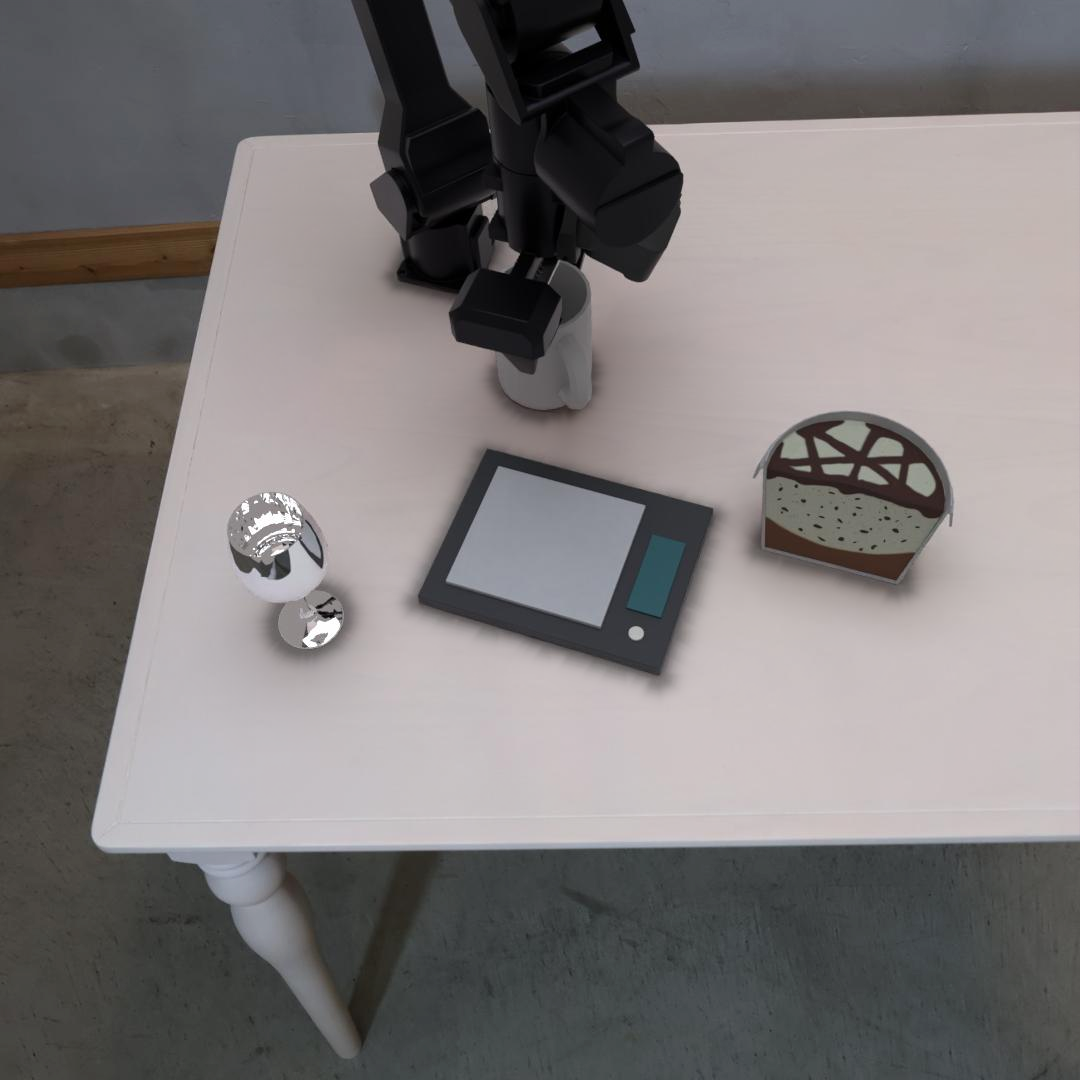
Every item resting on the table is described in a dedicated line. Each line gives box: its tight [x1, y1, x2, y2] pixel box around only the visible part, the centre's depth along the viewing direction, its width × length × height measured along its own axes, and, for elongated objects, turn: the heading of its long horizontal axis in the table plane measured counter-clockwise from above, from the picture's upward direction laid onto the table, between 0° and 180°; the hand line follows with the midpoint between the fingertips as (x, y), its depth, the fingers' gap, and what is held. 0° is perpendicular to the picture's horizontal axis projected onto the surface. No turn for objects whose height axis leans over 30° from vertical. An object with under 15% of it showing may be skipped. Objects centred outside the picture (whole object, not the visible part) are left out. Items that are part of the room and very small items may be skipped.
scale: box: [417, 448, 714, 676], centre depth 77 cm, size 17×13×1 cm
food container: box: [752, 410, 955, 585], centre depth 74 cm, size 12×6×10 cm, turn 71°
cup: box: [494, 260, 593, 411], centre depth 82 cm, size 7×10×9 cm
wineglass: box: [226, 491, 345, 650], centre depth 71 cm, size 6×6×12 cm
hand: (549, 324), depth 80 cm, fingers open, 9 cm apart
